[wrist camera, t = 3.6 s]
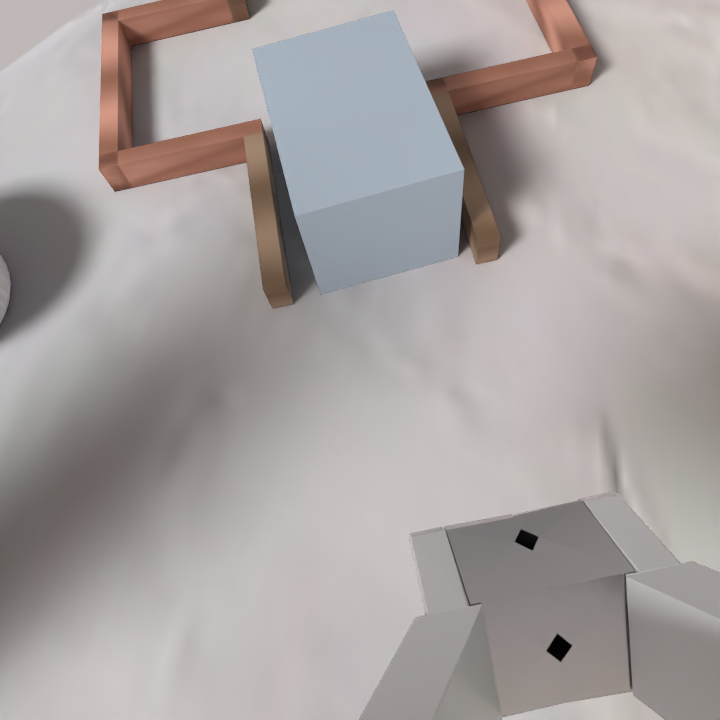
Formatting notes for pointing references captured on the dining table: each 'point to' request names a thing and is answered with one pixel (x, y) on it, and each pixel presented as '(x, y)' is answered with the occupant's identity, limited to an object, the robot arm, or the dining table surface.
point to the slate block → (362, 151)
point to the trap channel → (249, 141)
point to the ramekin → (4, 288)
